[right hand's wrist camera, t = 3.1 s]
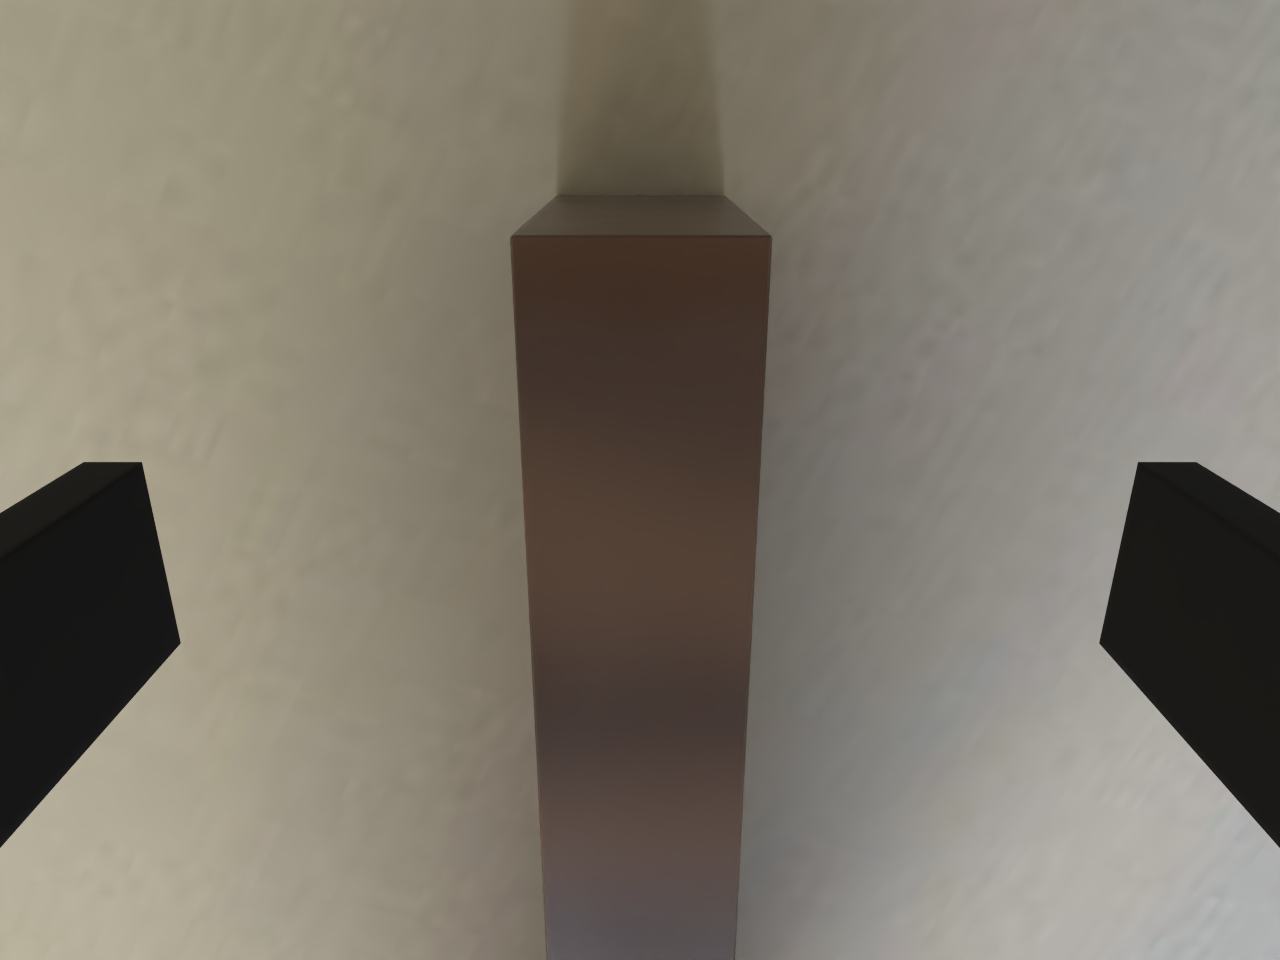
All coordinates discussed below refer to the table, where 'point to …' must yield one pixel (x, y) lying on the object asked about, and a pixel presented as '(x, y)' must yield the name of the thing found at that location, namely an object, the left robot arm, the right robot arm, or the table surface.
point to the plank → (641, 560)
